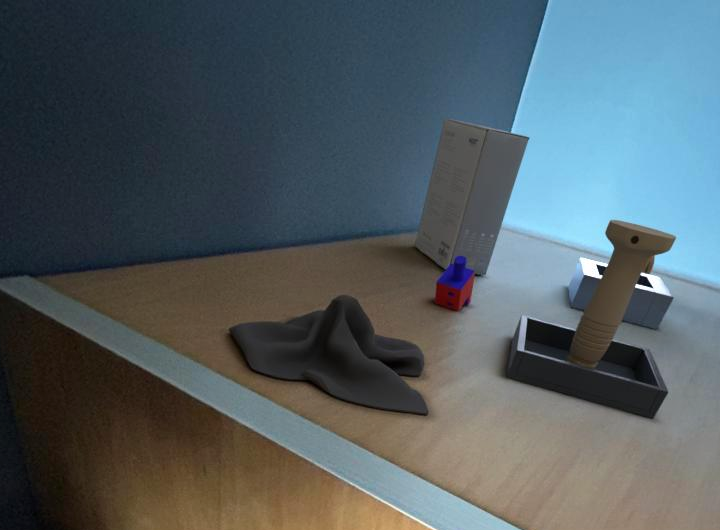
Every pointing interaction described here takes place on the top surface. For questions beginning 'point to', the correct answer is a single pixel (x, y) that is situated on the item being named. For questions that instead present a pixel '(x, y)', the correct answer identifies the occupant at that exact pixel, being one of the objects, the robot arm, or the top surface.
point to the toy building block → (455, 285)
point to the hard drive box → (469, 193)
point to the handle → (615, 288)
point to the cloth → (337, 356)
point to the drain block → (643, 304)
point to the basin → (586, 369)
